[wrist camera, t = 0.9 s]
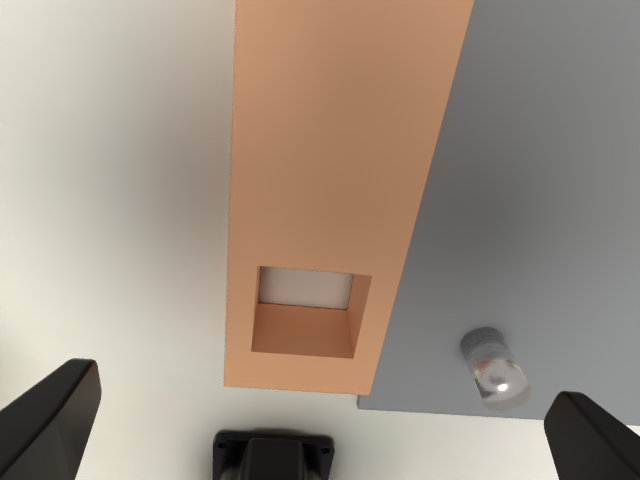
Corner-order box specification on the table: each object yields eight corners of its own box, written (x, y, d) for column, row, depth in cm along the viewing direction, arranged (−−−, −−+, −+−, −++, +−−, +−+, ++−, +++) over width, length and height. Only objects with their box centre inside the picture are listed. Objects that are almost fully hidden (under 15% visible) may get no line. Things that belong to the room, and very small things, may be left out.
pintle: (495, 360, 22) (521, 412, 19) (454, 357, 22) (475, 409, 19) (509, 328, 21) (538, 379, 18) (467, 325, 21) (490, 376, 18)
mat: (683, 422, 25) (688, 428, 25) (357, 402, 24) (358, 409, 23) (1024, 0, 15) (1041, 1, 14) (480, -92, 13) (485, -94, 13)
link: (361, 344, 22) (369, 395, 19) (233, 335, 21) (223, 386, 18) (454, -54, 14) (490, -60, 11) (251, -87, 13) (239, -101, 10)
